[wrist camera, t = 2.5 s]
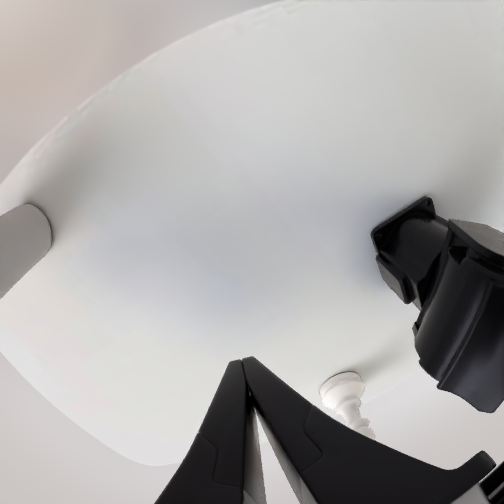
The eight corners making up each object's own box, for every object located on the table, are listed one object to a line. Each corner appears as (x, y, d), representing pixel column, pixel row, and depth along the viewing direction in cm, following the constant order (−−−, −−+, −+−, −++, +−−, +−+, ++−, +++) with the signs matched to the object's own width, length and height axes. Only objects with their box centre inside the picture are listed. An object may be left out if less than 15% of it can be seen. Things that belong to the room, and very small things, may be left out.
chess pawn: (368, 373, 29) (398, 434, 21) (343, 400, 31) (366, 459, 22) (335, 368, 28) (363, 436, 19) (310, 396, 29) (330, 462, 21)
